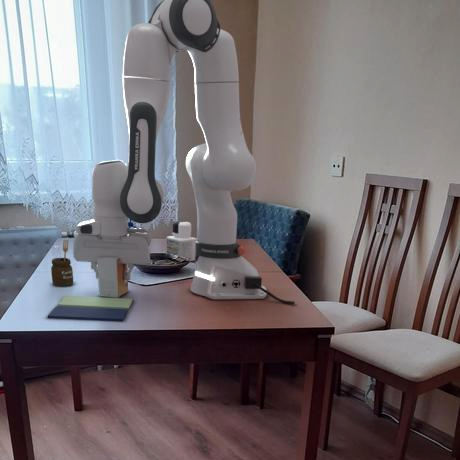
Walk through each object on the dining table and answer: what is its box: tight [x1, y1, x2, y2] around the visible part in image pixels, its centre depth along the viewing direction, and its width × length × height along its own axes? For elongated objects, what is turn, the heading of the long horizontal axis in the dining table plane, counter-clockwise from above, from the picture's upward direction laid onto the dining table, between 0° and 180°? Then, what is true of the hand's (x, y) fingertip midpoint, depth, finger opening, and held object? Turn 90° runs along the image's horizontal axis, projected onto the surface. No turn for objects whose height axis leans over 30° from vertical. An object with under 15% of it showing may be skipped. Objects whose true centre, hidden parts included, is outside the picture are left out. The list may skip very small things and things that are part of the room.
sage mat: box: [57, 295, 134, 311], centre depth 145 cm, size 18×8×1 cm, turn 91°
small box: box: [97, 257, 129, 298], centre depth 152 cm, size 8×6×10 cm
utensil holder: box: [50, 239, 74, 287], centre depth 158 cm, size 6×6×12 cm
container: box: [166, 220, 197, 262], centre depth 195 cm, size 8×8×13 cm
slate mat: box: [47, 305, 129, 322], centre depth 137 cm, size 18×8×1 cm, turn 91°
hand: (113, 279), depth 152 cm, fingers open, 6 cm apart
